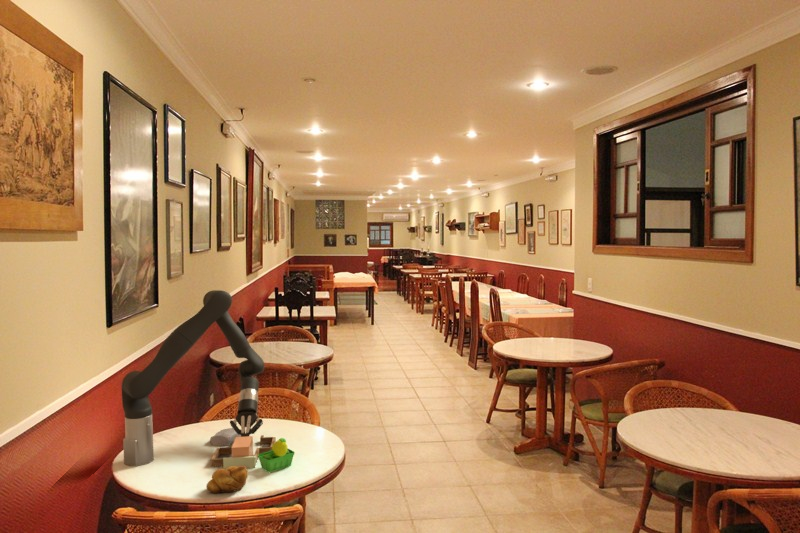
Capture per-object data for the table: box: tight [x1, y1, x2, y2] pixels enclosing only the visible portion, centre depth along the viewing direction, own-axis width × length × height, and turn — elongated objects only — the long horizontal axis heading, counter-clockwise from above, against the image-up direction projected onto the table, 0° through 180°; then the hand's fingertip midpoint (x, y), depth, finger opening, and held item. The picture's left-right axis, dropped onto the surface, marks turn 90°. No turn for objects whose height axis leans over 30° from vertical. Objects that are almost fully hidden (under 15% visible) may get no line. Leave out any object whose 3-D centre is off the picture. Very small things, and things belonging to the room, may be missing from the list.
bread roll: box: [206, 466, 249, 494], centre depth 187 cm, size 13×10×8 cm
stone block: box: [210, 427, 241, 446], centre depth 233 cm, size 12×5×10 cm
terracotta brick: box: [231, 435, 254, 457], centre depth 210 cm, size 11×6×8 cm, turn 7°
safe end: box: [222, 455, 256, 470], centre depth 204 cm, size 1×11×4 cm, turn 97°
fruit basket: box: [258, 437, 295, 473], centre depth 204 cm, size 11×9×11 cm
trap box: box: [210, 434, 277, 468], centre depth 217 cm, size 26×21×2 cm
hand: (244, 443), depth 216 cm, fingers closed
